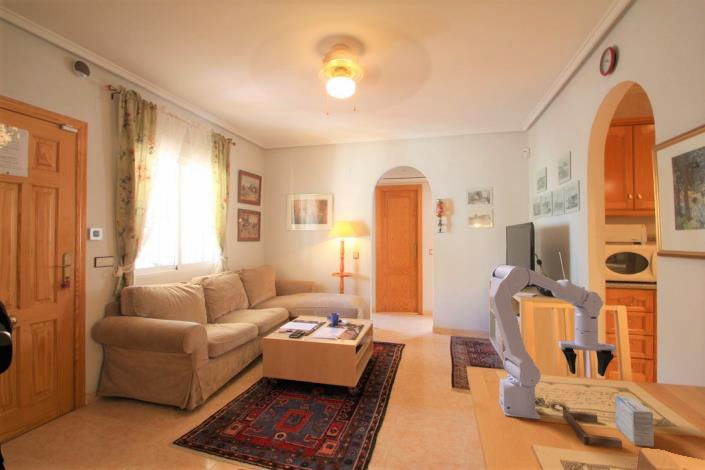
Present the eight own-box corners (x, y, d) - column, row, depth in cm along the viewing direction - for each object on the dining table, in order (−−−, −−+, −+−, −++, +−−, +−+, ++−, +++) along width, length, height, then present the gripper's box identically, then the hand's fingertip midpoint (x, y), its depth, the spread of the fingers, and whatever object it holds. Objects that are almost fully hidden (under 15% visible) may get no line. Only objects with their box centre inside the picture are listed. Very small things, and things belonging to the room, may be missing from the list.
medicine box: (654, 448, 77) (654, 412, 78) (633, 445, 78) (633, 410, 78) (633, 428, 85) (633, 397, 85) (614, 426, 86) (614, 395, 86)
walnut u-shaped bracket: (584, 444, 79) (584, 436, 79) (562, 416, 91) (562, 409, 91) (622, 449, 77) (621, 441, 77) (595, 420, 89) (595, 413, 89)
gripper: (606, 327, 98) (606, 370, 98) (554, 324, 101) (554, 366, 101) (619, 333, 91) (620, 380, 91) (563, 330, 94) (564, 375, 94)
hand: (586, 373), depth 96 cm, fingers open, 7 cm apart
